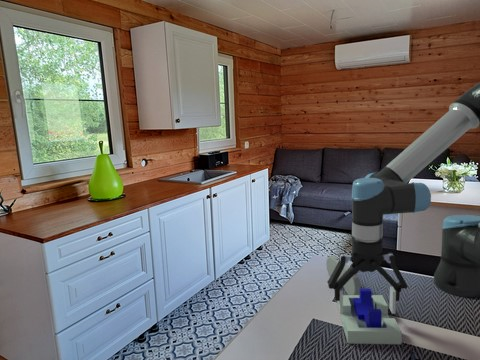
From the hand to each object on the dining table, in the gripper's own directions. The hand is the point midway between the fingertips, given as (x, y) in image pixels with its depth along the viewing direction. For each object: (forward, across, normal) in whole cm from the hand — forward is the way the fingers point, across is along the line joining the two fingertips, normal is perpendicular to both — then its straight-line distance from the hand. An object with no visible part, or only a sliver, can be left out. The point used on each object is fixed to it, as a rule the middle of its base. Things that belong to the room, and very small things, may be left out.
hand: (366, 311), depth 97 cm
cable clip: (+3, 0, 0) cm, 3 cm away
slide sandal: (+4, +3, -21) cm, 22 cm away
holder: (+4, 0, 0) cm, 4 cm away
